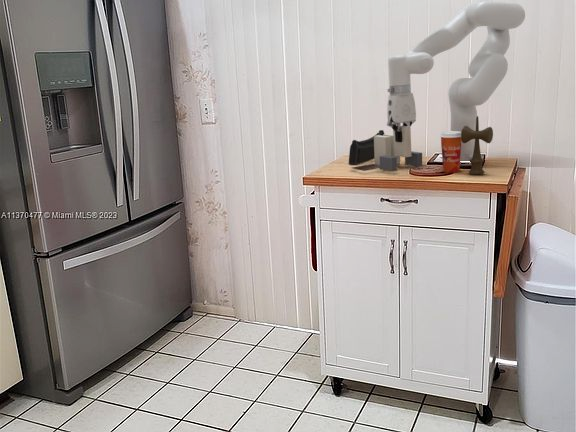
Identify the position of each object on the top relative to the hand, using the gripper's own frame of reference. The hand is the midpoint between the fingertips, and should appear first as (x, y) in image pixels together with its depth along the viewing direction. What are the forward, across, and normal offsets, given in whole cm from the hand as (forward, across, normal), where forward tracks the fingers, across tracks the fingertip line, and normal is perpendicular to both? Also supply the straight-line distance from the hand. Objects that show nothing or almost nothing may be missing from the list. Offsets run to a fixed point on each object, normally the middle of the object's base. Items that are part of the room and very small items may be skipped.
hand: (402, 140), depth 219 cm
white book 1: (+10, -2, +9) cm, 14 cm away
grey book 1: (+11, -7, 0) cm, 13 cm away
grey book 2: (+11, +5, 0) cm, 12 cm away
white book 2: (+10, +2, +9) cm, 14 cm away
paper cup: (+11, +10, -15) cm, 21 cm away
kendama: (+12, +12, -25) cm, 30 cm away
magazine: (+11, +4, +25) cm, 28 cm away
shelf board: (+11, -5, +10) cm, 15 cm away
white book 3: (+6, 0, 0) cm, 6 cm away
